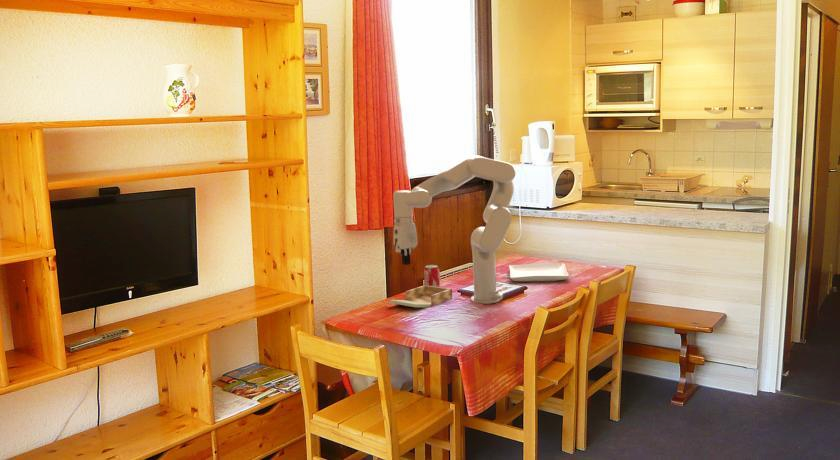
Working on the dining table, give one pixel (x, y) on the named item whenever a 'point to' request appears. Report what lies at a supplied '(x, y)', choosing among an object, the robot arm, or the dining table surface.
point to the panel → (409, 303)
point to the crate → (429, 295)
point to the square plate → (538, 272)
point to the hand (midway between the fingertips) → (406, 264)
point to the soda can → (432, 275)
